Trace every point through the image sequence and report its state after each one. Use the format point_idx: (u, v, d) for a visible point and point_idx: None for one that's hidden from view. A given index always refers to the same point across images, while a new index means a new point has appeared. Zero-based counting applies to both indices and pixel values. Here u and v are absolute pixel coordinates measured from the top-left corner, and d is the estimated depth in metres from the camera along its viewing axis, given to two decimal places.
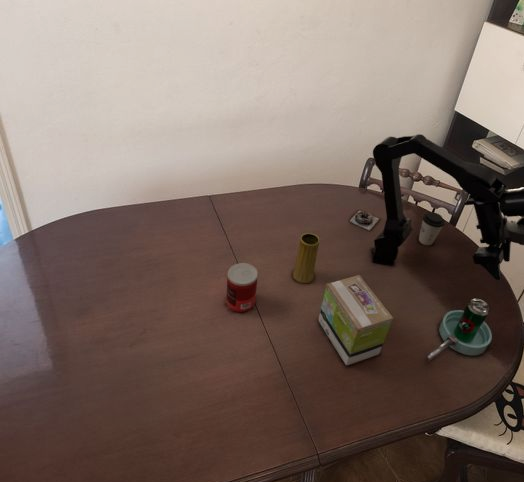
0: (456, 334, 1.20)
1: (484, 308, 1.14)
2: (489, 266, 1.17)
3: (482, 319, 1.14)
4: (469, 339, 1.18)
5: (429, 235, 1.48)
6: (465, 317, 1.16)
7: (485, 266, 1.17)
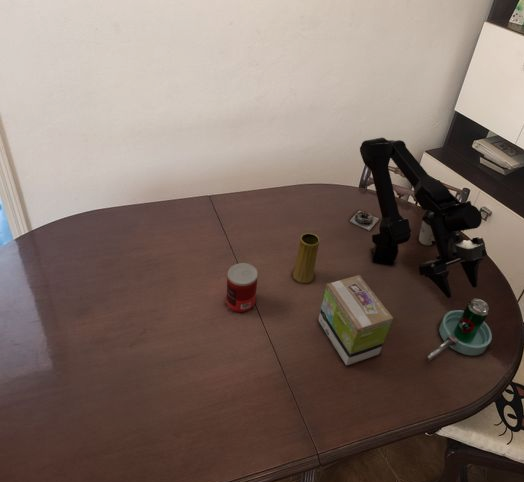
0: (456, 334, 1.20)
1: (484, 308, 1.14)
2: (438, 281, 1.17)
3: (482, 319, 1.14)
4: (469, 339, 1.18)
5: (429, 235, 1.48)
6: (465, 317, 1.16)
7: (434, 281, 1.17)
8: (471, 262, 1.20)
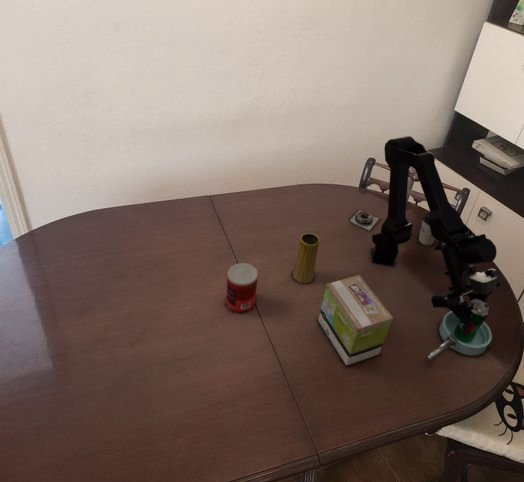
0: (456, 334, 1.20)
1: (484, 308, 1.14)
2: (457, 311, 1.16)
3: (482, 319, 1.14)
4: (469, 339, 1.18)
5: (429, 235, 1.48)
6: None
7: (453, 310, 1.17)
8: (479, 295, 1.18)
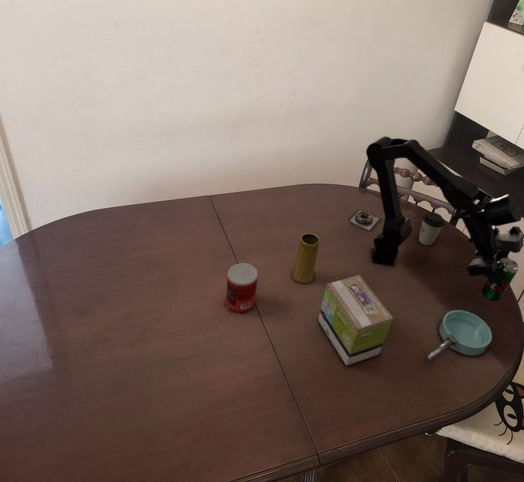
0: (487, 295, 1.23)
1: (513, 264, 1.17)
2: (489, 274, 1.18)
3: (514, 275, 1.17)
4: (500, 297, 1.22)
5: (429, 235, 1.48)
6: None
7: (485, 274, 1.18)
8: (501, 253, 1.21)
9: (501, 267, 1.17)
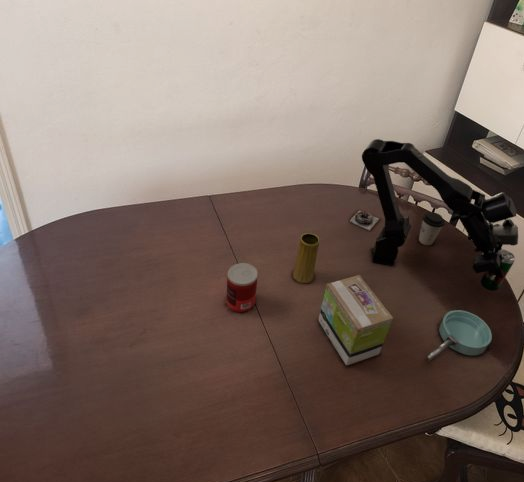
0: (487, 287, 1.29)
1: (510, 255, 1.25)
2: None
3: (511, 265, 1.25)
4: (499, 286, 1.29)
5: (429, 235, 1.48)
6: None
7: None
8: None
9: None
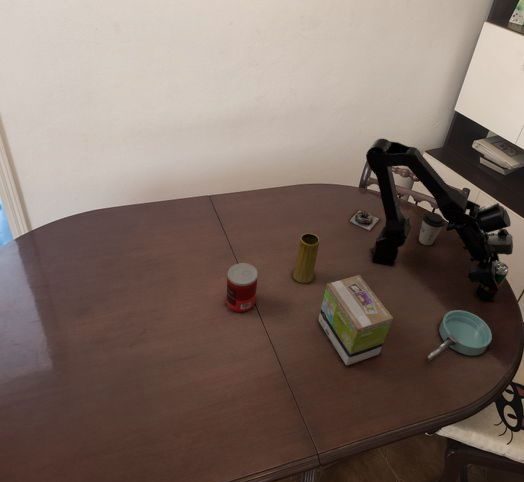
0: (482, 297, 1.32)
1: (503, 266, 1.27)
2: (485, 280, 1.25)
3: (505, 276, 1.27)
4: (494, 296, 1.32)
5: (429, 235, 1.48)
6: None
7: (482, 281, 1.25)
8: None
9: None
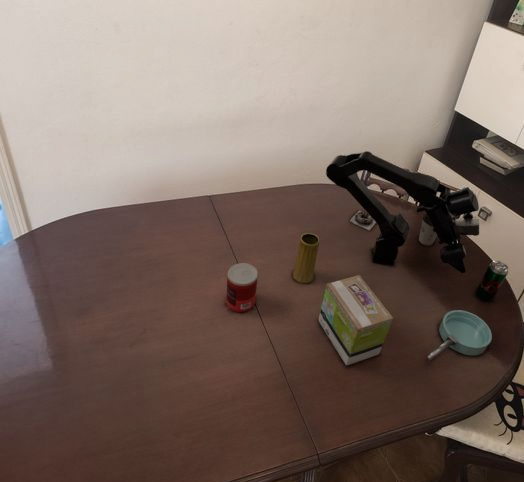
0: (482, 297, 1.32)
1: (503, 266, 1.27)
2: (454, 262, 1.26)
3: (505, 276, 1.27)
4: (494, 296, 1.32)
5: (429, 235, 1.48)
6: (491, 280, 1.28)
7: (451, 263, 1.26)
8: None
9: (494, 271, 1.26)
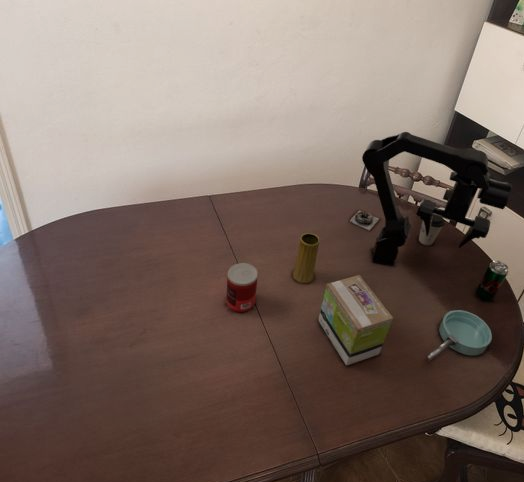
0: (482, 297, 1.32)
1: (504, 266, 1.27)
2: None
3: (505, 276, 1.27)
4: (494, 296, 1.32)
5: (429, 235, 1.48)
6: (491, 280, 1.28)
7: None
8: (432, 215, 1.30)
9: (494, 271, 1.26)
